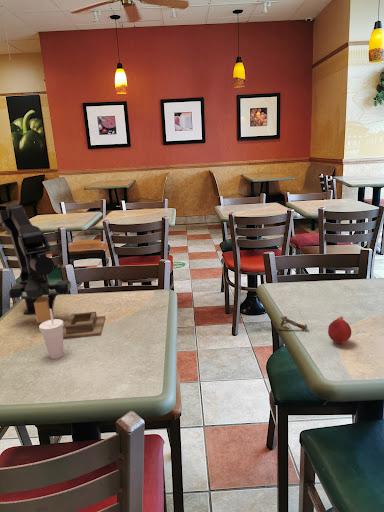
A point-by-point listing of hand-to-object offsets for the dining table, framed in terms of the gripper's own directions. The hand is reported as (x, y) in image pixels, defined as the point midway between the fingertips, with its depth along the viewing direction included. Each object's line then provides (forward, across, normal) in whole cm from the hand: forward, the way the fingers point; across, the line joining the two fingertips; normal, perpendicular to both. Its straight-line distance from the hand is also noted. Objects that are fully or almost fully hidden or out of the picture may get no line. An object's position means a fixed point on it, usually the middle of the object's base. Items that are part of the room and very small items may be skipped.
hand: (45, 312), depth 132 cm
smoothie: (+4, +9, -25) cm, 27 cm away
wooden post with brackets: (+4, +77, -26) cm, 81 cm away
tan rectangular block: (+2, 0, 0) cm, 2 cm away
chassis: (+3, +14, -8) cm, 16 cm away
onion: (+4, +86, -36) cm, 93 cm away
